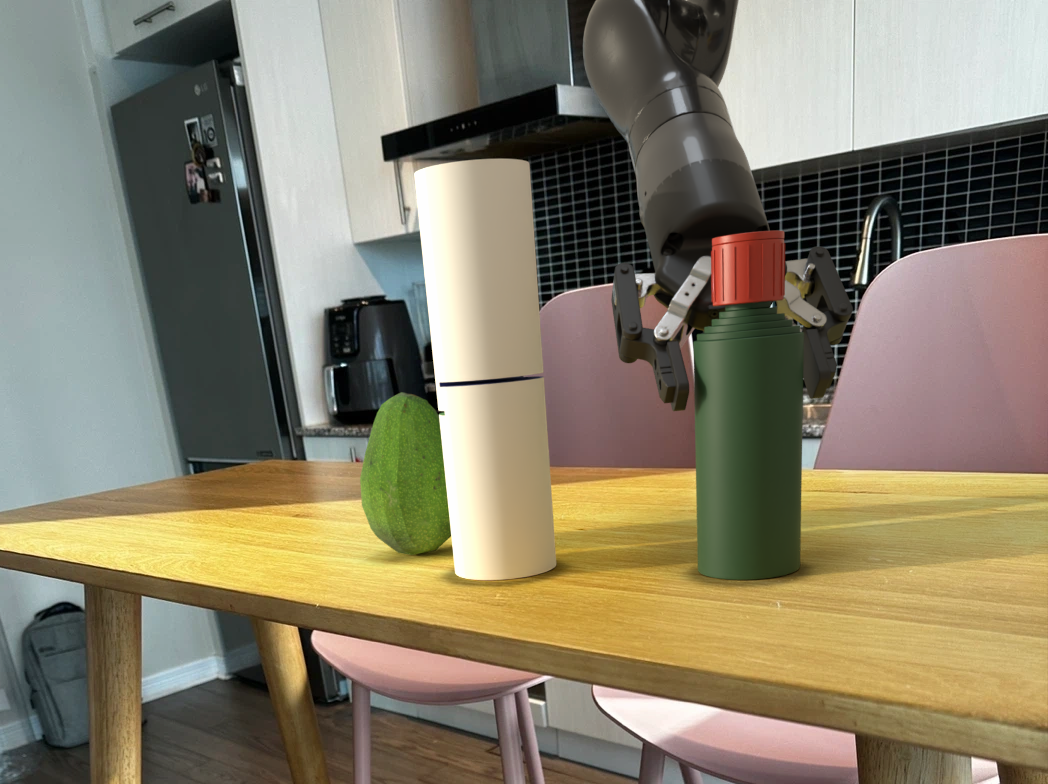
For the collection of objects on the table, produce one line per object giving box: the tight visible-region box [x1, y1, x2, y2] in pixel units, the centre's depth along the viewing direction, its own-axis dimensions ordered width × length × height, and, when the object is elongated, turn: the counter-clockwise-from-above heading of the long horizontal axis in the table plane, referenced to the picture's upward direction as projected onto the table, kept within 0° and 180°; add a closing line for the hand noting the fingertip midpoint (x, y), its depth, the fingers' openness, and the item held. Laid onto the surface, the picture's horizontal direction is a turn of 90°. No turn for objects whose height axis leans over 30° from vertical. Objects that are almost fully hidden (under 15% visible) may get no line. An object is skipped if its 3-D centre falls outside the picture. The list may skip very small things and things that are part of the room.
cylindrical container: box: [413, 158, 557, 581], centre depth 68 cm, size 7×7×25 cm
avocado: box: [359, 391, 452, 556], centre depth 78 cm, size 8×8×12 cm
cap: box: [711, 230, 786, 306], centre depth 60 cm, size 4×4×4 cm
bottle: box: [692, 301, 804, 581], centre depth 63 cm, size 6×6×19 cm
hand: (752, 395), depth 62 cm, fingers open, 8 cm apart
